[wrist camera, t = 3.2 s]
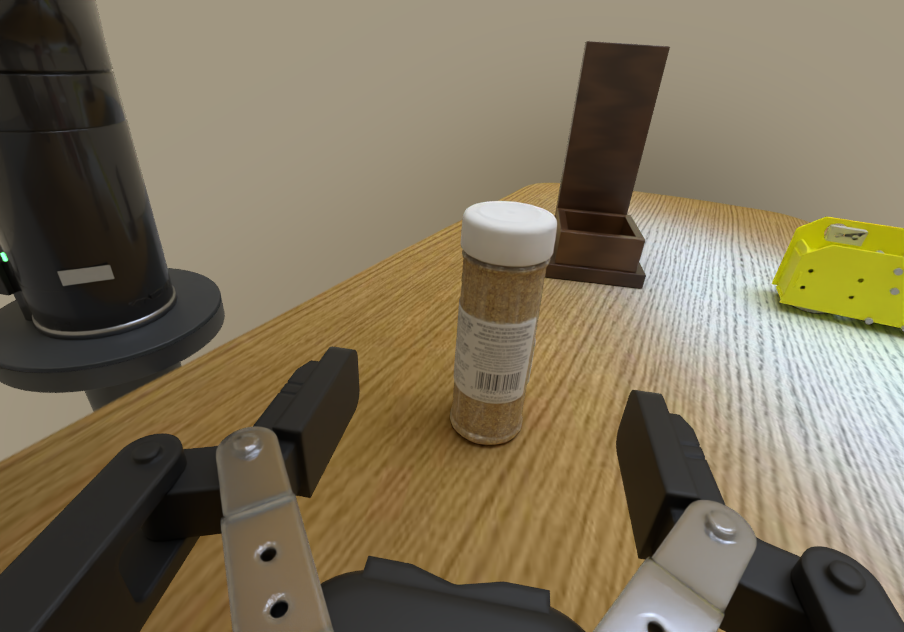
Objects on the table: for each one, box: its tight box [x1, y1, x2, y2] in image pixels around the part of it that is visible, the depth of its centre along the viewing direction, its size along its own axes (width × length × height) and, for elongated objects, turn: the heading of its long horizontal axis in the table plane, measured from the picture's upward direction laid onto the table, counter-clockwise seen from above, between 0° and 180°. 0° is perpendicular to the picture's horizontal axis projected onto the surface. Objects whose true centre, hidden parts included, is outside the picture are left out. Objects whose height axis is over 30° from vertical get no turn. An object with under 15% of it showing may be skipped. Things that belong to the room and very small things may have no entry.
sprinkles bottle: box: [450, 201, 557, 445], centre depth 25 cm, size 5×5×13 cm
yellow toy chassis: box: [772, 217, 904, 332], centre depth 42 cm, size 16×6×8 cm, turn 66°
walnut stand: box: [545, 41, 670, 288], centre depth 47 cm, size 10×12×22 cm
